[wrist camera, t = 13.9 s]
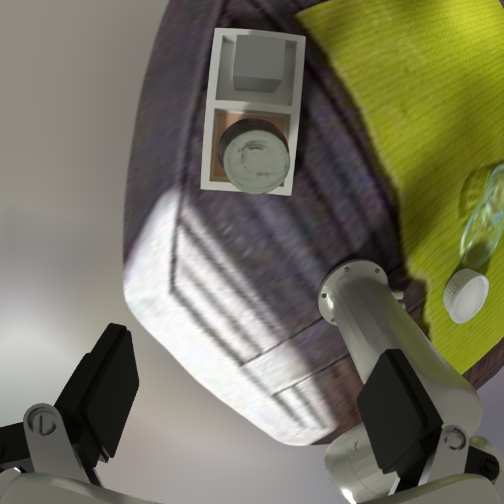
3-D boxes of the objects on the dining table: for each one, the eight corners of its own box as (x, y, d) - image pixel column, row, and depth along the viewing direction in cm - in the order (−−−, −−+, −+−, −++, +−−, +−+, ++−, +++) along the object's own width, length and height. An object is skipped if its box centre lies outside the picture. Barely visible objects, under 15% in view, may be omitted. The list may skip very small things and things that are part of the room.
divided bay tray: (217, 38, 29) (215, 28, 25) (299, 46, 29) (305, 36, 26) (204, 184, 36) (200, 189, 33) (286, 190, 37) (290, 195, 34)
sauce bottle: (239, 114, 32) (237, 83, 14) (283, 136, 33) (331, 132, 15) (216, 159, 34) (187, 180, 16) (260, 179, 35) (280, 224, 17)
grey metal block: (276, 59, 29) (285, 39, 22) (273, 93, 31) (282, 80, 24) (237, 55, 29) (237, 34, 22) (234, 89, 31) (232, 75, 23)
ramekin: (480, 281, 45) (494, 292, 40) (449, 318, 48) (461, 331, 44) (464, 253, 42) (481, 264, 37) (430, 295, 45) (444, 309, 41)
